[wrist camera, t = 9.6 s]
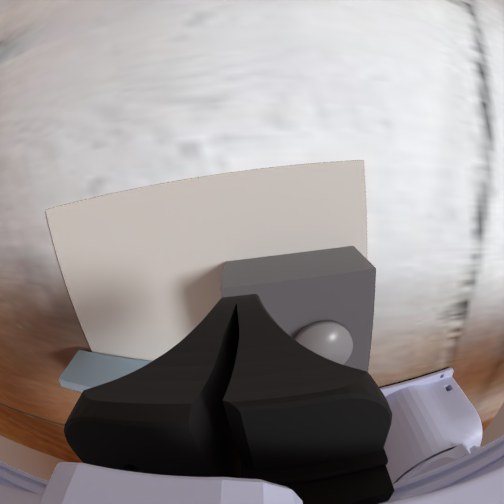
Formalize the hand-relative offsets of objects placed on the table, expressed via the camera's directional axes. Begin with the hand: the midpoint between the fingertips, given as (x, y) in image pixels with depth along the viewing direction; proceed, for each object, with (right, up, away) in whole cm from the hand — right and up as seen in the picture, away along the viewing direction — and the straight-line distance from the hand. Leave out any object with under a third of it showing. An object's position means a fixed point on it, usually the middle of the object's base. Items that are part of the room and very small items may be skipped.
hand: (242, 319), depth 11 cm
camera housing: (+3, -2, +10) cm, 11 cm away
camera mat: (-3, -1, +10) cm, 11 cm away
